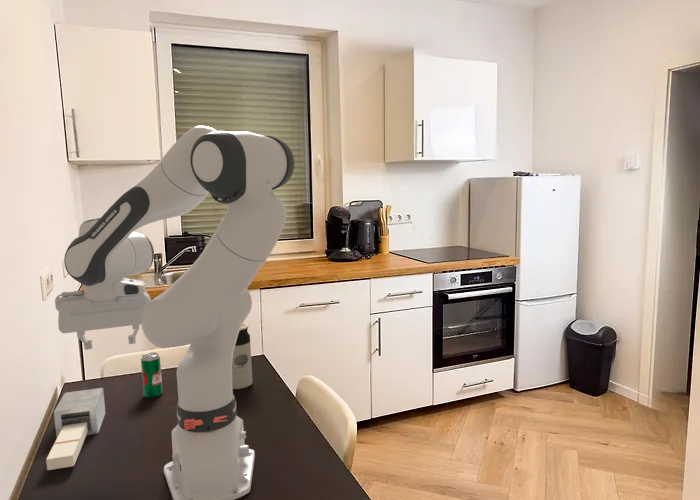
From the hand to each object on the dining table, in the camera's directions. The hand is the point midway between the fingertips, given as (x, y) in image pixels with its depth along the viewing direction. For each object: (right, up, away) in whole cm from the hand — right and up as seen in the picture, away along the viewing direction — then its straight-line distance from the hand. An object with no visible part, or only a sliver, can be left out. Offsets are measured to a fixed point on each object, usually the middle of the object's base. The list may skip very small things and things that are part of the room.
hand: (110, 346), depth 122 cm
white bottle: (+23, -18, +33) cm, 44 cm away
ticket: (-7, -22, -6) cm, 24 cm away
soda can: (0, -19, +27) cm, 33 cm away
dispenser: (-11, -22, +9) cm, 26 cm away
